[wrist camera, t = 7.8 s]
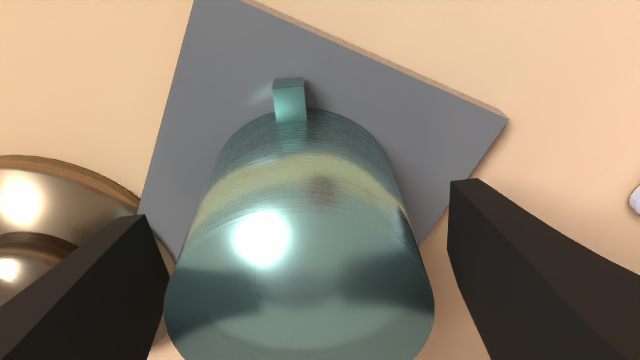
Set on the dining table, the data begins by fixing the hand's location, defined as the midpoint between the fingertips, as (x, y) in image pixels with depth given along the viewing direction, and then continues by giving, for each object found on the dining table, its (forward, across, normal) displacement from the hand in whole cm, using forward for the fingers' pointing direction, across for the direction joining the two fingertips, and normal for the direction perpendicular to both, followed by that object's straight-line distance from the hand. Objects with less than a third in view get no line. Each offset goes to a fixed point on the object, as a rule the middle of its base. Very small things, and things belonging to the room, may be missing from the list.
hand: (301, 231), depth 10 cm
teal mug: (+2, 0, 0) cm, 2 cm away
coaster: (+2, 0, 0) cm, 2 cm away
